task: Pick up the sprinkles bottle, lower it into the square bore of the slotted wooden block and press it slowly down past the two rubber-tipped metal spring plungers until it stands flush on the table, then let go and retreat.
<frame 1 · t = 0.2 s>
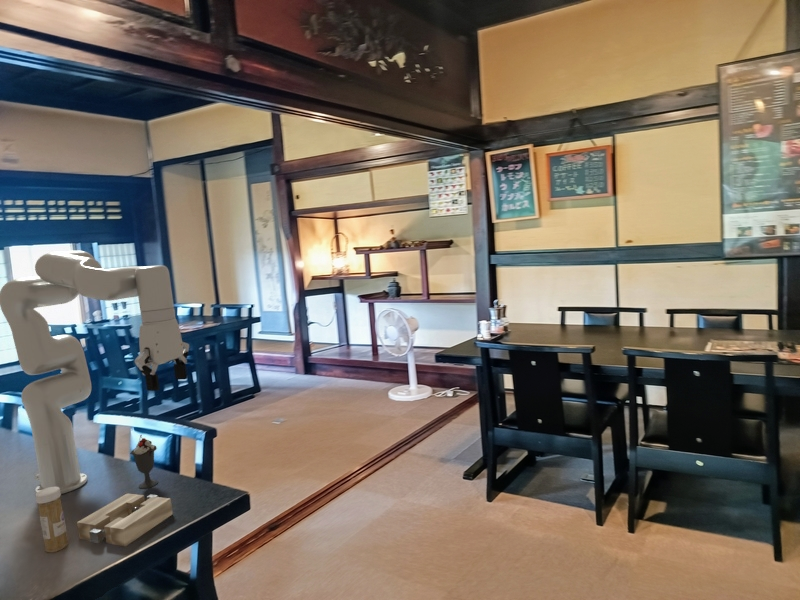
hand: (168, 384, 133), 31 cm above the table, tool pointing down, fingers open, 9 cm apart
plunger 2: (144, 506, 132), point 2 cm above the table, slide at 0.0 cm
sprinkles bottle: (57, 548, 121), on the table
sundae: (148, 485, 150), on the table
slotted wooden block: (127, 526, 127), on the table
plunger 1: (107, 529, 122), point 2 cm above the table, slide at 0.0 cm
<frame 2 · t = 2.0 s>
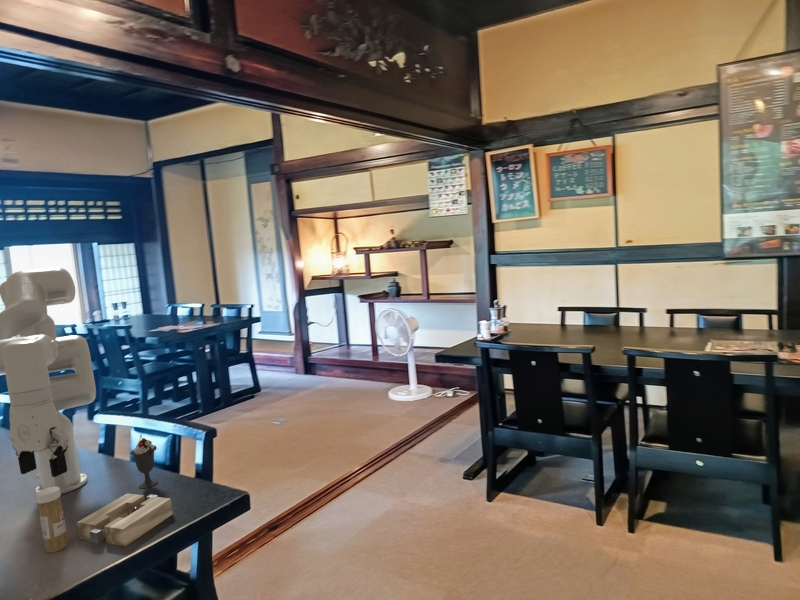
hand: (44, 472, 118), 18 cm above the table, tool pointing down, fingers open, 9 cm apart
nothing on the table moved.
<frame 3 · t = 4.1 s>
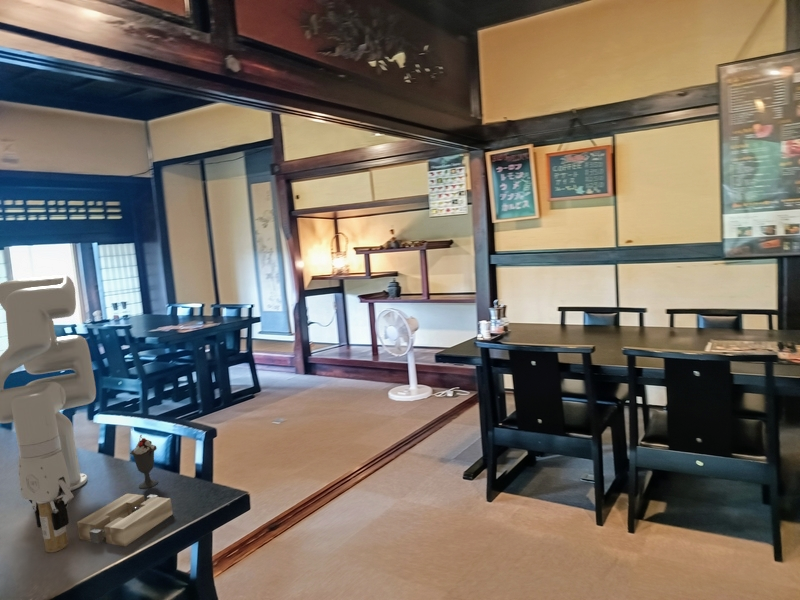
hand: (53, 524, 120), 5 cm above the table, tool pointing down, fingers closed on sprinkles bottle, 4 cm apart
sprinkles bottle: (57, 548, 121), on the table, touching gripper
everything else where it was.
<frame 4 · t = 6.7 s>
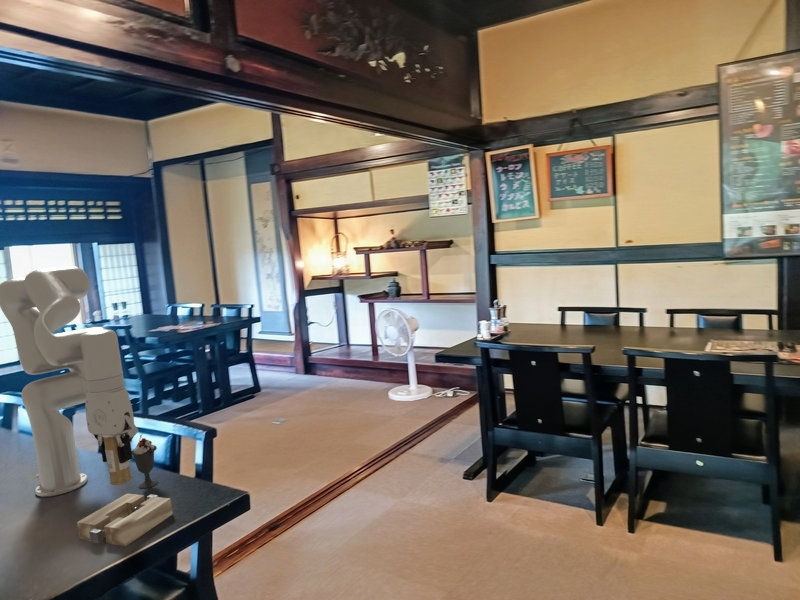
hand: (117, 459, 125), 16 cm above the table, tool pointing down, fingers closed on sprinkles bottle, 4 cm apart
sprinkles bottle: (121, 482, 126), point 11 cm above the table, touching gripper
everything else where it was.
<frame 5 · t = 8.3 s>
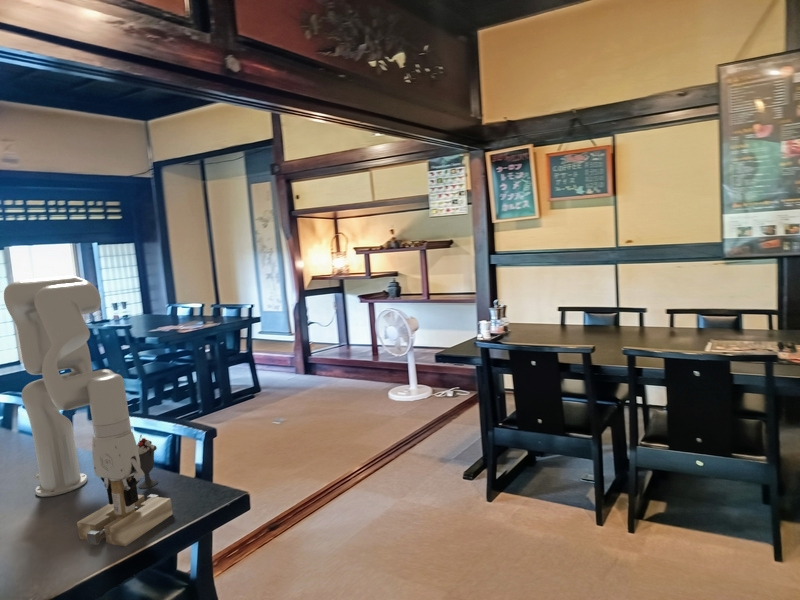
hand: (123, 501, 127), 6 cm above the table, tool pointing down, fingers closed on sprinkles bottle, 4 cm apart
sprinkles bottle: (126, 524, 127), on the table, touching gripper
plunger 1: (104, 530, 122), point 2 cm above the table, slide at 0.6 cm
everything else where it was.
when the fingers open (5 cm above the table, at t = 9.6 s): sprinkles bottle stays where it is, on the table.
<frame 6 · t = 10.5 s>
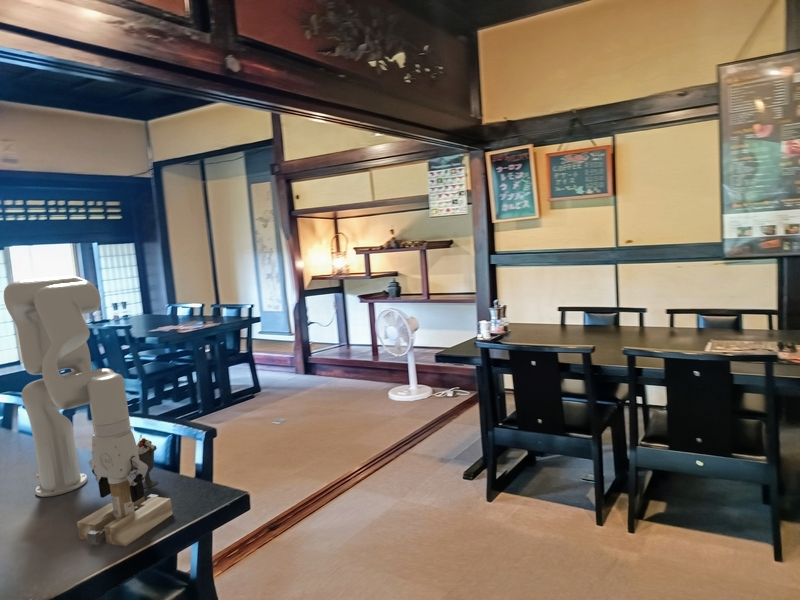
hand: (122, 497, 127), 7 cm above the table, tool pointing down, fingers open, 9 cm apart
sprinkles bottle: (126, 526, 127), on the table
everything else where it was.
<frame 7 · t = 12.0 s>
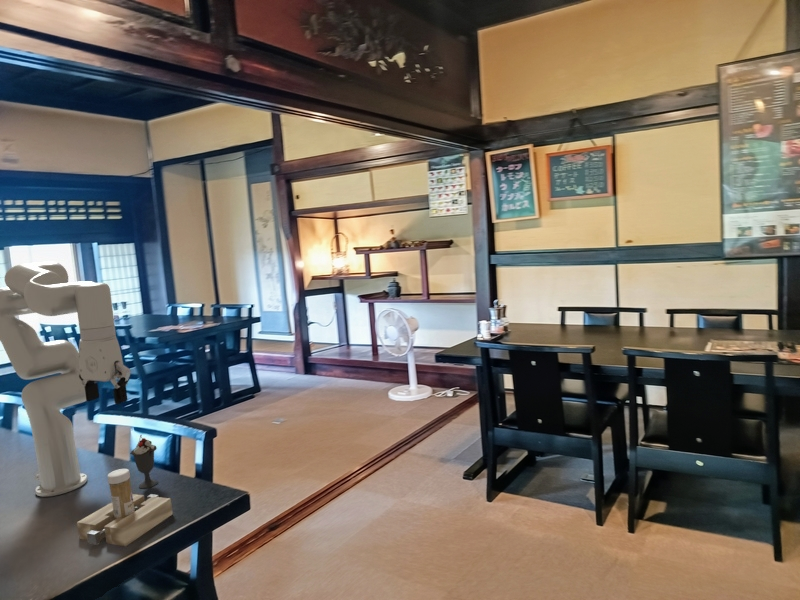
hand: (107, 401, 134), 28 cm above the table, tool pointing down, fingers open, 9 cm apart
nothing on the table moved.
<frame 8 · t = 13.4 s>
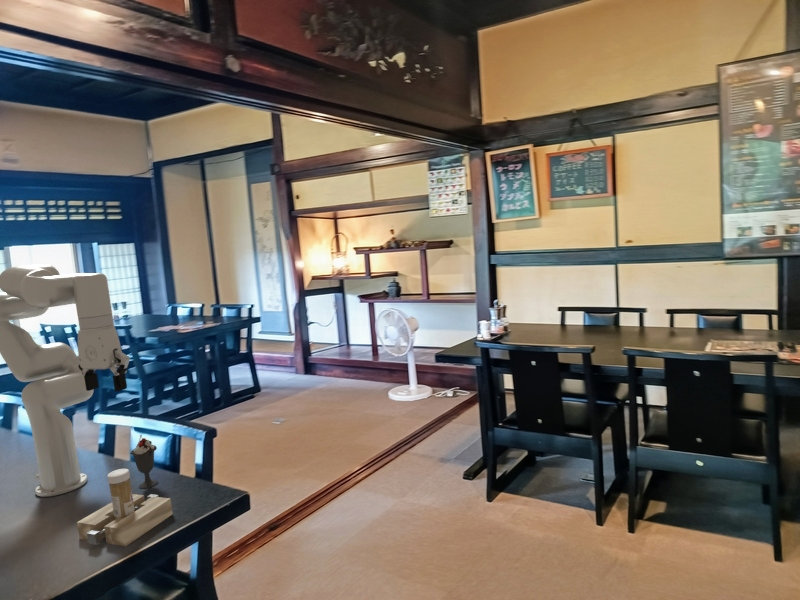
hand: (106, 389, 136), 30 cm above the table, tool pointing down, fingers open, 9 cm apart
nothing on the table moved.
at the end: sprinkles bottle 0.2 cm off-centre on the slotted wooden block, point 0.0 cm above the slotted wooden block's base; sprinkles bottle tilted 0°; the gripper is holding nothing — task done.
